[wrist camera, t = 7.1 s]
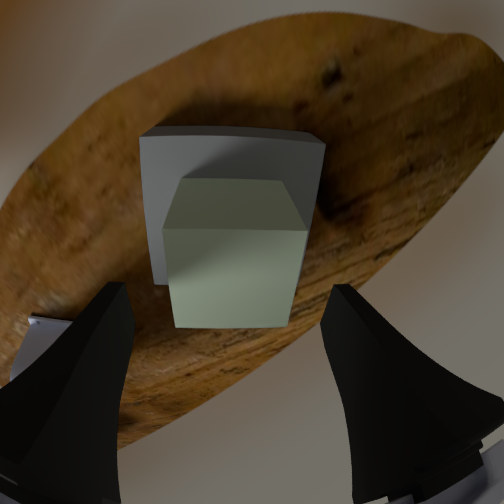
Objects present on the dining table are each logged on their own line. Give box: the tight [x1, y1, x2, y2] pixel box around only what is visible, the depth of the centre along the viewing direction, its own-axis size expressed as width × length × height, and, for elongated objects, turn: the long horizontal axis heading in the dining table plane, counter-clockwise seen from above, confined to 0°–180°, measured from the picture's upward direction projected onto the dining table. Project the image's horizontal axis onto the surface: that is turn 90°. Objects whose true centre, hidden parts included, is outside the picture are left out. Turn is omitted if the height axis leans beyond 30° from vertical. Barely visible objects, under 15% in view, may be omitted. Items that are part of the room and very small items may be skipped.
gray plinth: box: [139, 126, 326, 286], centre depth 16 cm, size 9×9×3 cm
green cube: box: [162, 178, 308, 328], centre depth 13 cm, size 5×5×5 cm
